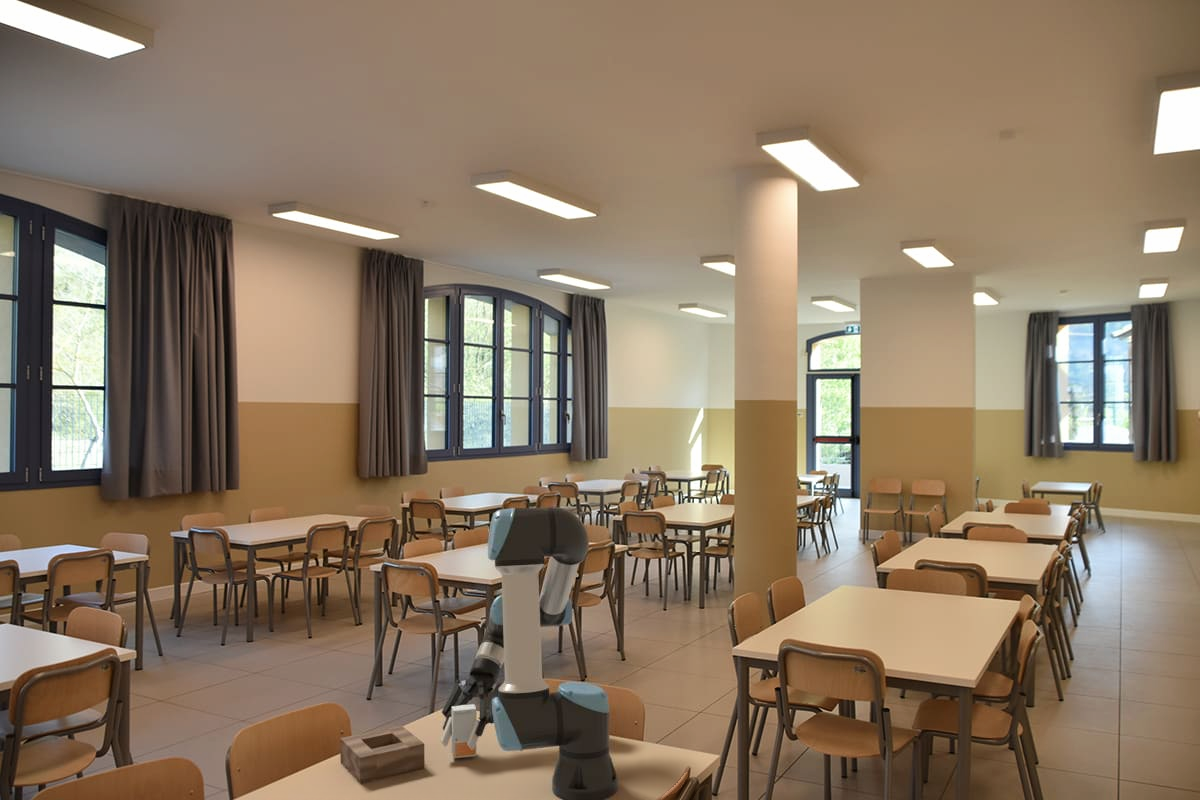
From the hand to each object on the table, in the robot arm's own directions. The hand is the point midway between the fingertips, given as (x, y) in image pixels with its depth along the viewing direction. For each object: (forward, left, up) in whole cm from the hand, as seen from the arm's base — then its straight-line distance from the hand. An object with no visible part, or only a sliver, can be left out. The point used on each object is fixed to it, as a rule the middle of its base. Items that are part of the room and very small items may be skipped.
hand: (456, 745), depth 213 cm
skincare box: (+2, -3, -4) cm, 5 cm away
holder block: (+9, +16, -4) cm, 19 cm away
